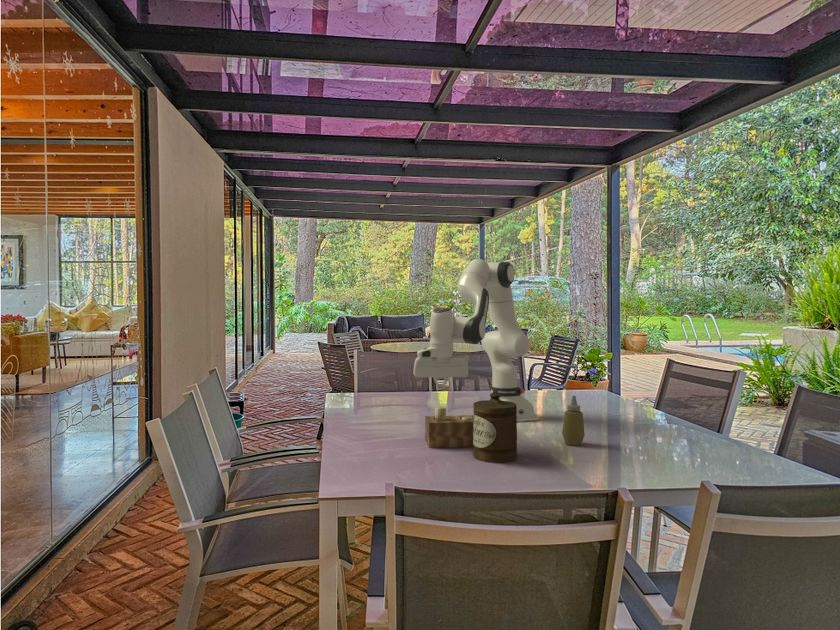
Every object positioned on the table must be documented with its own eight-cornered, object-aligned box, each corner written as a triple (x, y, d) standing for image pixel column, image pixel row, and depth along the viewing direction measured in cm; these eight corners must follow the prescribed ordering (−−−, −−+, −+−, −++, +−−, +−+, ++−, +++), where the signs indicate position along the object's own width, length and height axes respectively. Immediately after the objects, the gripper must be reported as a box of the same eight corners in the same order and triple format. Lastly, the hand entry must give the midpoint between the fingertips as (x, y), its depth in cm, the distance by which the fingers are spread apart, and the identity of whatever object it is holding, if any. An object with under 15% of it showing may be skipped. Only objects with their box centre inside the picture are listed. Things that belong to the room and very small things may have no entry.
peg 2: (471, 437, 218) (471, 416, 217) (473, 440, 214) (473, 418, 213) (460, 437, 217) (461, 416, 217) (462, 440, 213) (462, 418, 213)
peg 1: (445, 428, 216) (445, 407, 216) (446, 431, 212) (446, 409, 212) (434, 428, 216) (434, 407, 216) (435, 431, 212) (436, 409, 212)
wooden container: (465, 453, 201) (465, 390, 200) (502, 449, 207) (502, 387, 206) (486, 464, 188) (487, 397, 187) (525, 460, 193) (526, 394, 193)
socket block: (476, 438, 222) (477, 415, 222) (483, 446, 210) (483, 421, 210) (425, 439, 220) (425, 415, 220) (429, 447, 208) (429, 422, 208)
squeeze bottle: (572, 447, 209) (573, 398, 209) (557, 442, 216) (558, 394, 216) (589, 445, 213) (590, 396, 212) (573, 440, 220) (574, 393, 220)
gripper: (467, 351, 218) (466, 388, 218) (413, 351, 215) (412, 388, 216) (470, 352, 211) (470, 390, 212) (414, 352, 209) (414, 390, 209)
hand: (440, 389), depth 214 cm, fingers closed
